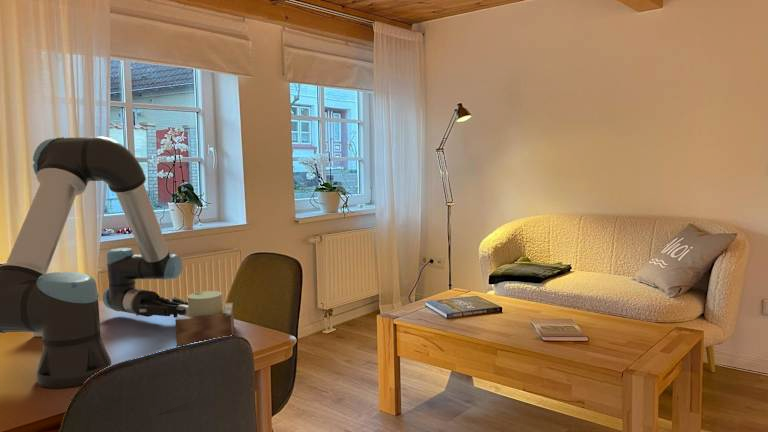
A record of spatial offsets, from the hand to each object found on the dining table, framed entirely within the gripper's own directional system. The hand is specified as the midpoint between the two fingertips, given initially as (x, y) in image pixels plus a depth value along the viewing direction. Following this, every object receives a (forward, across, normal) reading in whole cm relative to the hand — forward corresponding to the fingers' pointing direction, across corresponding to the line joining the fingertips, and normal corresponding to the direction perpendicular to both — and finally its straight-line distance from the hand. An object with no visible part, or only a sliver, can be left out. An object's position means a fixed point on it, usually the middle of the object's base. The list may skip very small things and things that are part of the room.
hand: (195, 312), depth 165 cm
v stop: (+9, 0, -6) cm, 11 cm away
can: (+5, 0, -6) cm, 8 cm away
